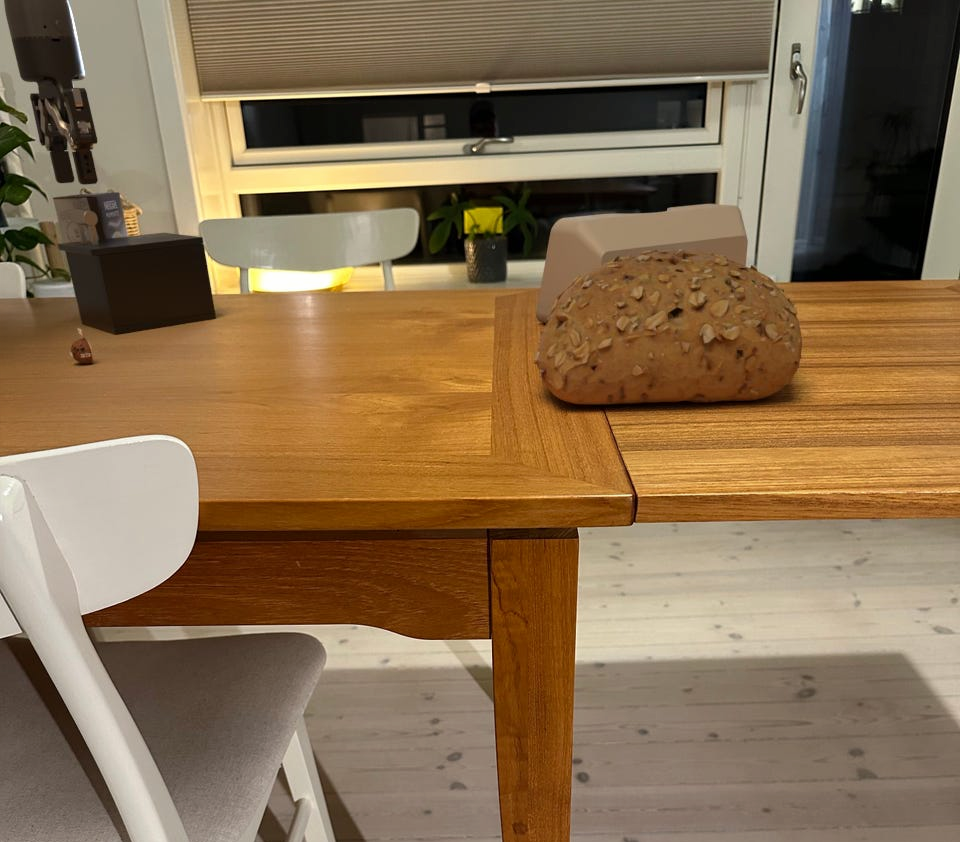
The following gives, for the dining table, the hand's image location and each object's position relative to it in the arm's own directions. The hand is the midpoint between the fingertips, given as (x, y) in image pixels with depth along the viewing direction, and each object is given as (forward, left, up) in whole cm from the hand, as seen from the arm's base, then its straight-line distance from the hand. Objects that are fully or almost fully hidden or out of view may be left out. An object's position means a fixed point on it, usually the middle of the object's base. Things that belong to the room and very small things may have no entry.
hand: (77, 183), depth 123 cm
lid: (+5, +3, -8) cm, 10 cm away
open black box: (+5, +3, -18) cm, 19 cm away
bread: (+60, -55, -18) cm, 83 cm away
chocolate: (+1, -24, -18) cm, 30 cm away
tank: (+70, -24, -18) cm, 76 cm away
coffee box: (-2, +15, -18) cm, 24 cm away
